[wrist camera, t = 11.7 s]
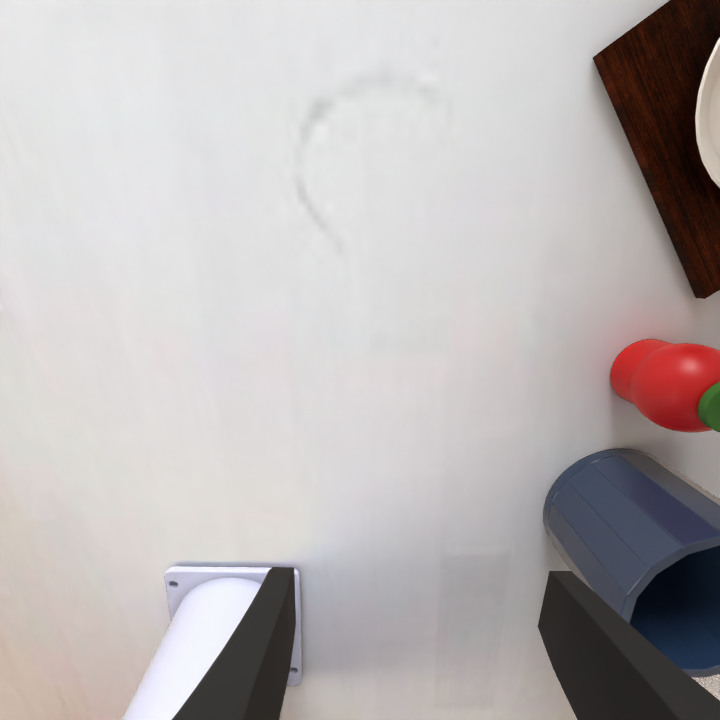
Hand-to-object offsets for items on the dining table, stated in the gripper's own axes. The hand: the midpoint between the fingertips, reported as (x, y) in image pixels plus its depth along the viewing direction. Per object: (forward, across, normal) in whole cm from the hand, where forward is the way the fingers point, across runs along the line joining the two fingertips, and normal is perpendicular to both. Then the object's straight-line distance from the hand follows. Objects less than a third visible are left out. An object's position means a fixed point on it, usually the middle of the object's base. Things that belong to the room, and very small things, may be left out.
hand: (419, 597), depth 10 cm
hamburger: (+10, -16, -16) cm, 25 cm away
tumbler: (+10, -13, +4) cm, 17 cm away
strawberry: (+10, -13, -4) cm, 17 cm away
